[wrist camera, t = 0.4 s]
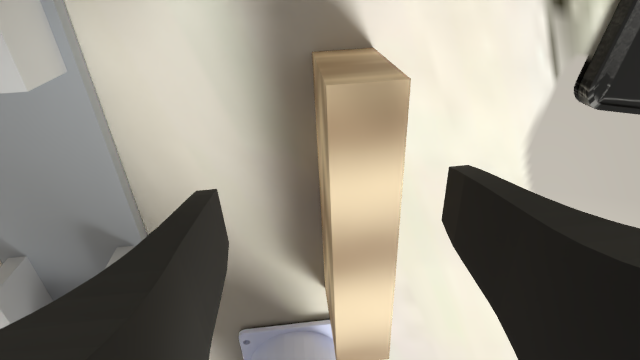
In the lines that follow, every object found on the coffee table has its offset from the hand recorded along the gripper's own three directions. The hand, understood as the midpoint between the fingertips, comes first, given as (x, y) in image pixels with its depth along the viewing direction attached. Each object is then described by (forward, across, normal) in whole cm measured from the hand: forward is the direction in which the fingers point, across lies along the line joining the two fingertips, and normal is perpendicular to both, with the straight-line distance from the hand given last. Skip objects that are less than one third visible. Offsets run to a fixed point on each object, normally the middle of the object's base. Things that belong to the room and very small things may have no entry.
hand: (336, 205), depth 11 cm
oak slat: (+9, -2, +5) cm, 11 cm away
